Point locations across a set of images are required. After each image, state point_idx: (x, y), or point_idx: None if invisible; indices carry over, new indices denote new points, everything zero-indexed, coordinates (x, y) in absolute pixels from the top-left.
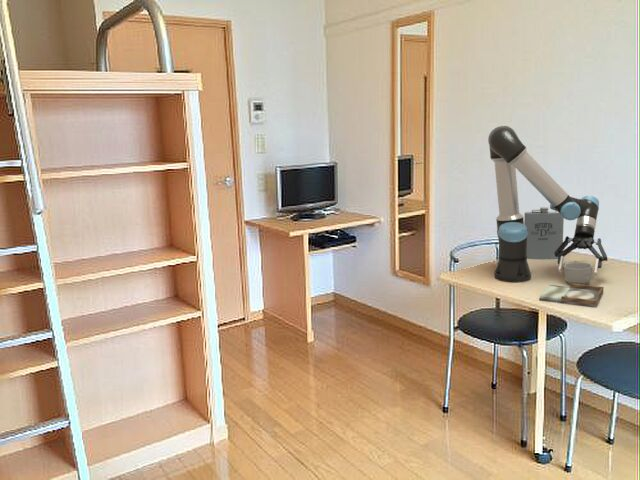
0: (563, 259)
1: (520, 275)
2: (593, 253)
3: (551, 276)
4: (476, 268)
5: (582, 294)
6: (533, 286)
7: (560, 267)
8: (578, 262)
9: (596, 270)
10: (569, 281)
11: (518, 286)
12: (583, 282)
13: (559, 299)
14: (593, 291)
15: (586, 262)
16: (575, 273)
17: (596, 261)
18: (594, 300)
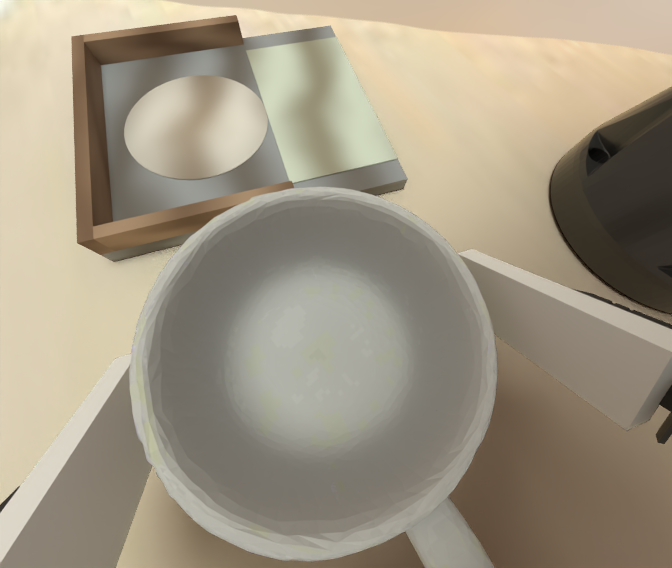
0: (610, 400)
1: (602, 163)
2: None
3: (534, 377)
4: None
5: (188, 133)
6: (463, 156)
7: (474, 258)
8: (407, 504)
9: (102, 378)
10: (342, 266)
11: (508, 123)
12: (252, 292)
13: (254, 44)
14: (152, 207)
15: (281, 551)
16: (289, 221)
17: (4, 546)
18: (82, 38)
